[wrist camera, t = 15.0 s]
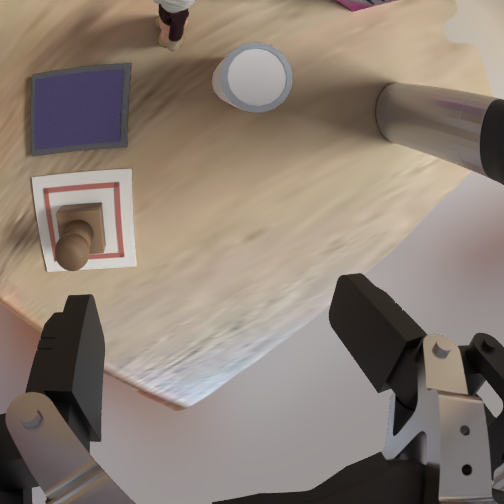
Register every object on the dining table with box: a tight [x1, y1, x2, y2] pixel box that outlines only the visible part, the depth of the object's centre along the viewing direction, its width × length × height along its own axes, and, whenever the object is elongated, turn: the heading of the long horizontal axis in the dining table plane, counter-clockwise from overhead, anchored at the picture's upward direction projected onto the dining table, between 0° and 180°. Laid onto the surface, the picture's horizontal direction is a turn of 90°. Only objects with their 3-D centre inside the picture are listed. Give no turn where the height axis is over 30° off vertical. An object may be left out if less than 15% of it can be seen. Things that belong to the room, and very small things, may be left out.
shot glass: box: [212, 42, 293, 113], centre depth 27 cm, size 7×7×7 cm
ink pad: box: [31, 63, 132, 156], centre depth 25 cm, size 11×9×2 cm
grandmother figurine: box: [153, 0, 196, 51], centre depth 19 cm, size 8×4×13 cm, turn 19°
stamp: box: [55, 202, 106, 271], centre depth 28 cm, size 5×5×9 cm
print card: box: [32, 168, 137, 272], centre depth 31 cm, size 12×12×1 cm
